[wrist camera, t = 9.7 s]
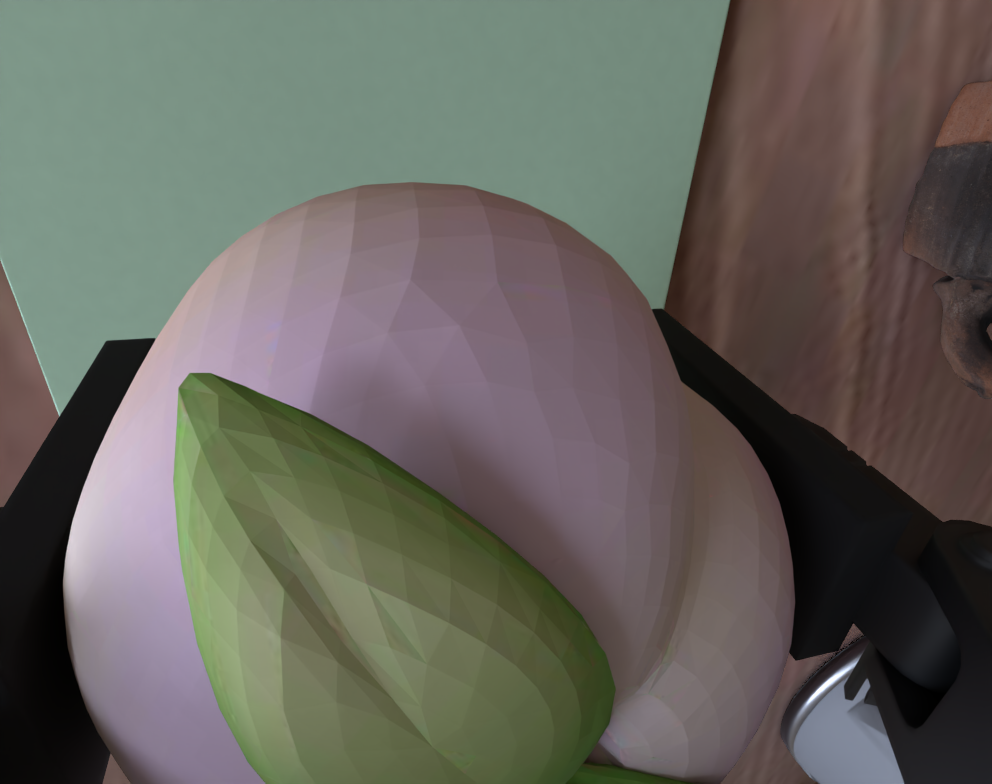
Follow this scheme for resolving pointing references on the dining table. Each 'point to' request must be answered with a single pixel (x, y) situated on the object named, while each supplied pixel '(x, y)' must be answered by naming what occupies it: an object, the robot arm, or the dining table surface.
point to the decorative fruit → (423, 519)
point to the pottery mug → (960, 232)
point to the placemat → (323, 133)
